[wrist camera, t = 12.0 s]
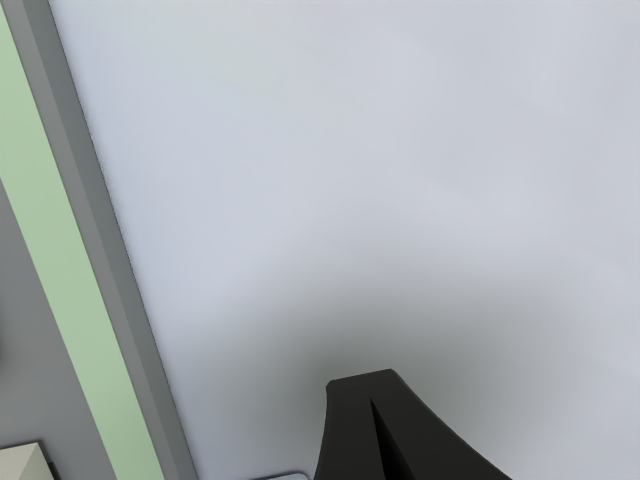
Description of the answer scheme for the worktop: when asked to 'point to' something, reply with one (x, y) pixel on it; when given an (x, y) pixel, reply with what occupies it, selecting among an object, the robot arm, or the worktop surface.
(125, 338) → the switch panel
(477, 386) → the worktop surface
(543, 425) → the worktop surface
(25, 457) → the inner switch
